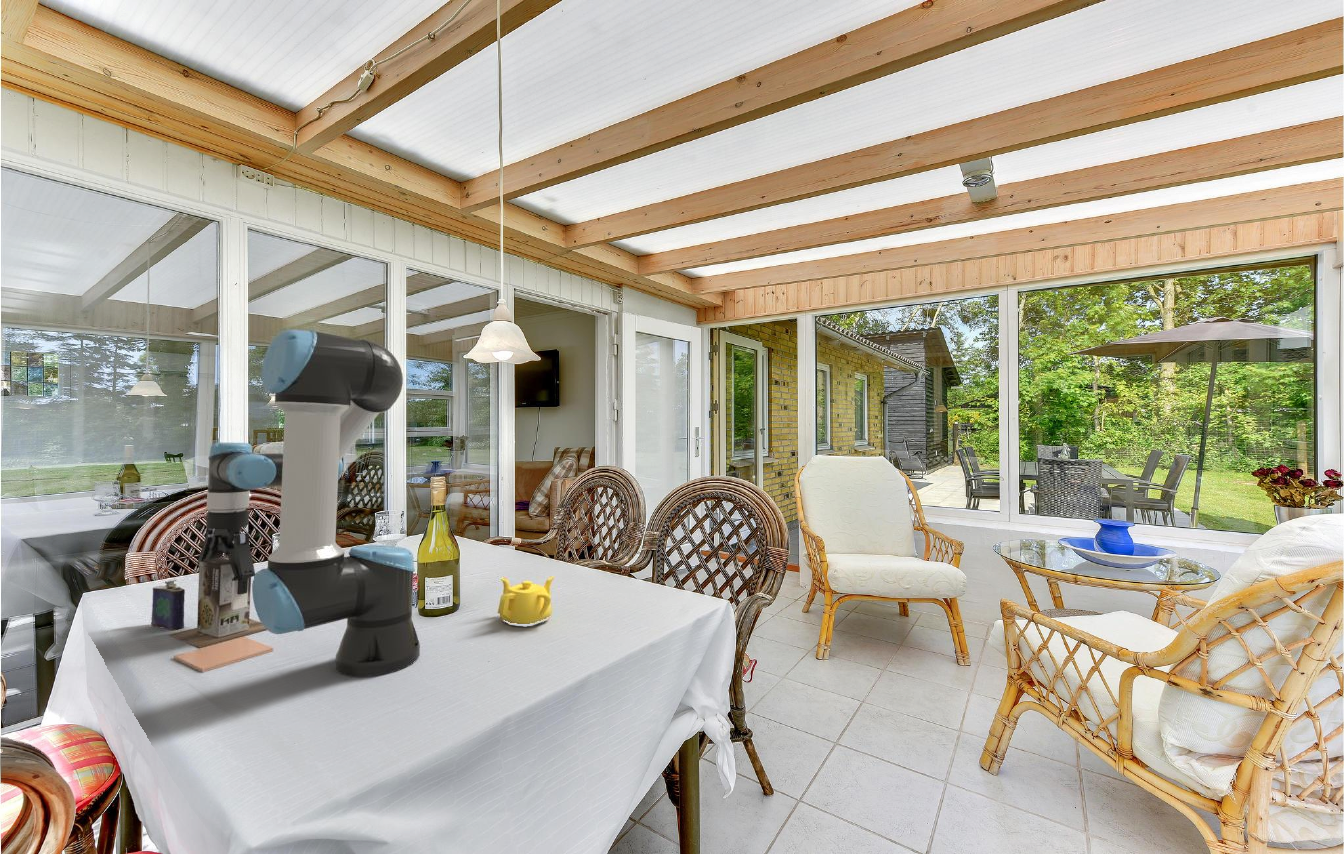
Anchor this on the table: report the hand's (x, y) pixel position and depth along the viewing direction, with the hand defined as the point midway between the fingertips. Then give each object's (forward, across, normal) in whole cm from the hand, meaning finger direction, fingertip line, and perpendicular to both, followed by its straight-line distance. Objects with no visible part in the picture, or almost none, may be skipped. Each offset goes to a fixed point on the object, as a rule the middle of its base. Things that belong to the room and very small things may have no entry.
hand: (223, 602), depth 123 cm
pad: (+6, -15, +6) cm, 18 cm away
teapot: (+6, -52, -42) cm, 67 cm away
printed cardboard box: (+6, 0, 0) cm, 6 cm away
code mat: (+7, 0, 0) cm, 7 cm away
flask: (+7, +14, +5) cm, 16 cm away
